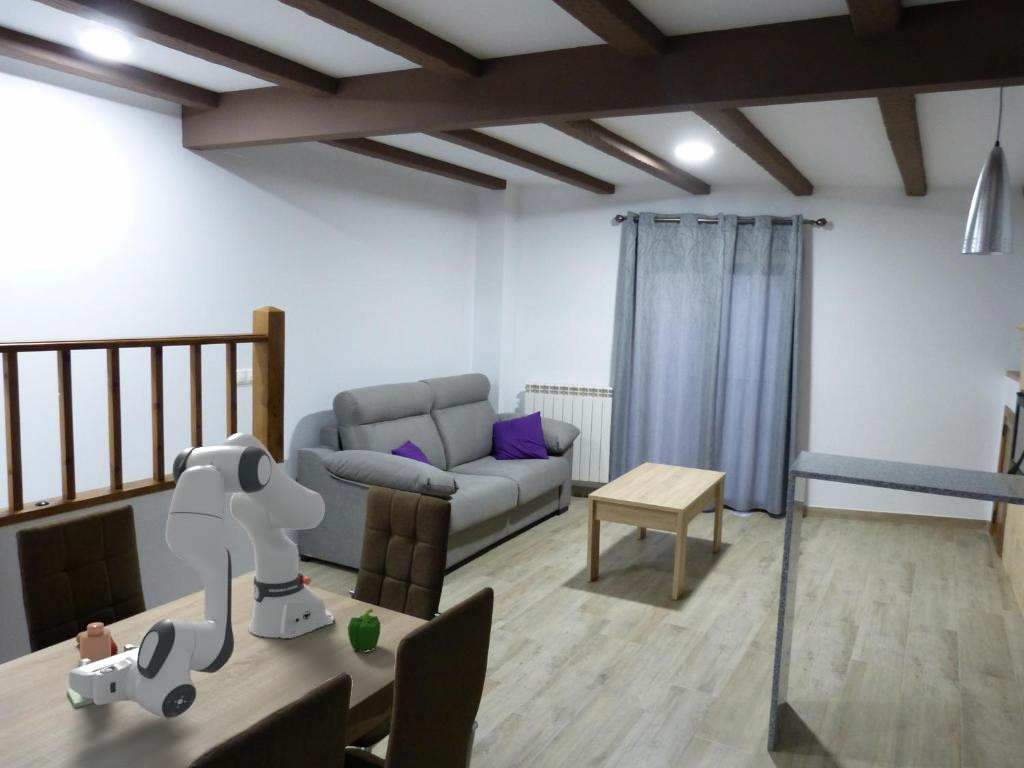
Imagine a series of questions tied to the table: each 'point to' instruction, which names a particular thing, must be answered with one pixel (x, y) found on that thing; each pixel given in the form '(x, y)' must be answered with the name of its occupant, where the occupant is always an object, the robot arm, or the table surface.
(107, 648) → the bottle
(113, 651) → the kendama
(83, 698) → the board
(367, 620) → the bell pepper
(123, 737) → the table surface
